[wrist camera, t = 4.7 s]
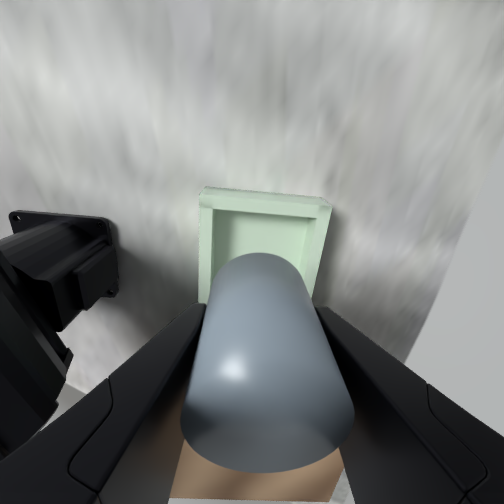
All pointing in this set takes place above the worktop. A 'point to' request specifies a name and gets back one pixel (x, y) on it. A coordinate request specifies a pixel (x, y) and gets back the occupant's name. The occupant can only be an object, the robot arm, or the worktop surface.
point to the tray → (259, 231)
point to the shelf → (255, 480)
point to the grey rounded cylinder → (264, 373)
